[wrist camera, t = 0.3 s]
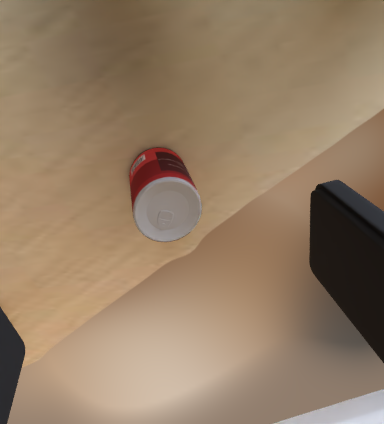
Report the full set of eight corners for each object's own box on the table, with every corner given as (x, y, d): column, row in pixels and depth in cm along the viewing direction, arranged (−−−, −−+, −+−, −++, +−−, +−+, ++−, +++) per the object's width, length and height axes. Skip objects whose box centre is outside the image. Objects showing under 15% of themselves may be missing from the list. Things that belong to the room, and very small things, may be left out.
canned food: (130, 201, 48) (135, 246, 38) (126, 146, 44) (130, 181, 34) (184, 197, 49) (201, 239, 40) (185, 144, 45) (203, 177, 36)
